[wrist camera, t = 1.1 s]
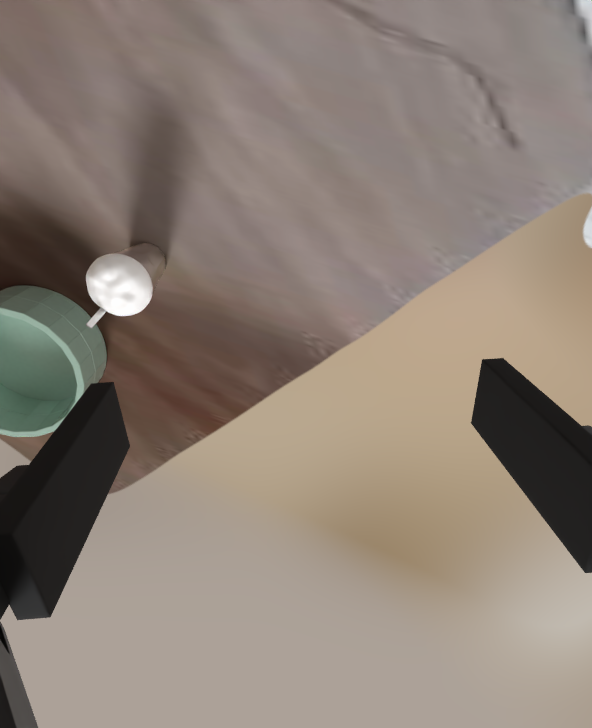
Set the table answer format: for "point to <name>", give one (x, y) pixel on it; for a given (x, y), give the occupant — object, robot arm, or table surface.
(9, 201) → the table surface
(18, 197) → the table surface
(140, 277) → the milkshake
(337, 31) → the table surface
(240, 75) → the table surface
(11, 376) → the pot
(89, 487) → the robot arm
